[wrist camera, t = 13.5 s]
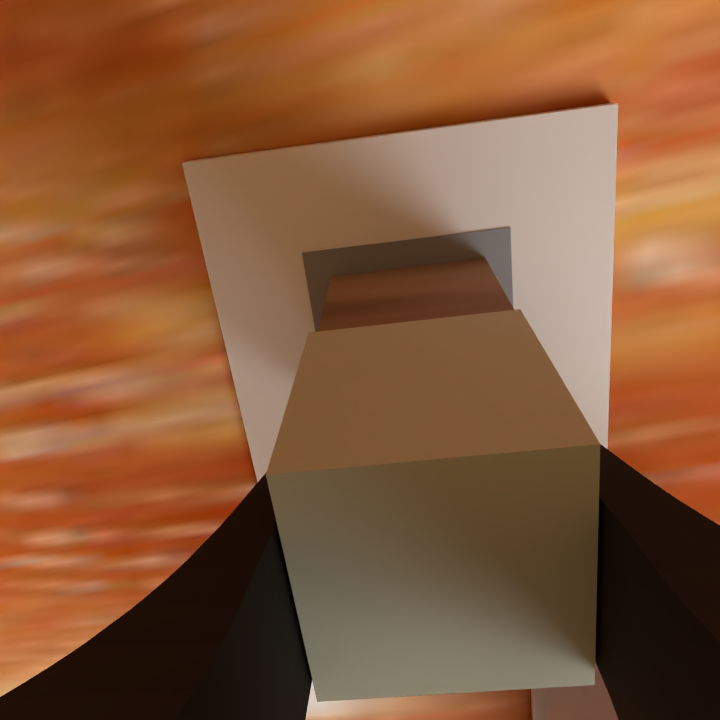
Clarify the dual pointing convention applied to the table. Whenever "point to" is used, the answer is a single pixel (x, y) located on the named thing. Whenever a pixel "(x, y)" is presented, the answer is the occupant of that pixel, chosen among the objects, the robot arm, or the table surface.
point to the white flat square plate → (413, 239)
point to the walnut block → (412, 295)
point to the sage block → (438, 511)
